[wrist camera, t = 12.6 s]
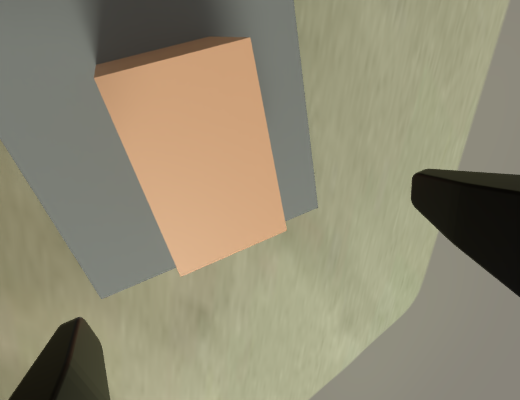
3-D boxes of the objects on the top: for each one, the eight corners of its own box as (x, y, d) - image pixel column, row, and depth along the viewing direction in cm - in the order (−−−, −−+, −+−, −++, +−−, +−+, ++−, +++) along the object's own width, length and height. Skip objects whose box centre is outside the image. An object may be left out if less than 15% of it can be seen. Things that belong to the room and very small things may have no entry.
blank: (162, 220, 18) (180, 276, 14) (95, 64, 14) (93, 78, 10) (246, 188, 19) (286, 230, 15) (209, 36, 15) (250, 37, 11)
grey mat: (101, 296, 18) (101, 299, 18) (-76, 13, 11) (-80, 13, 11) (316, 206, 22) (318, 207, 22) (284, -53, 15) (287, -54, 15)
